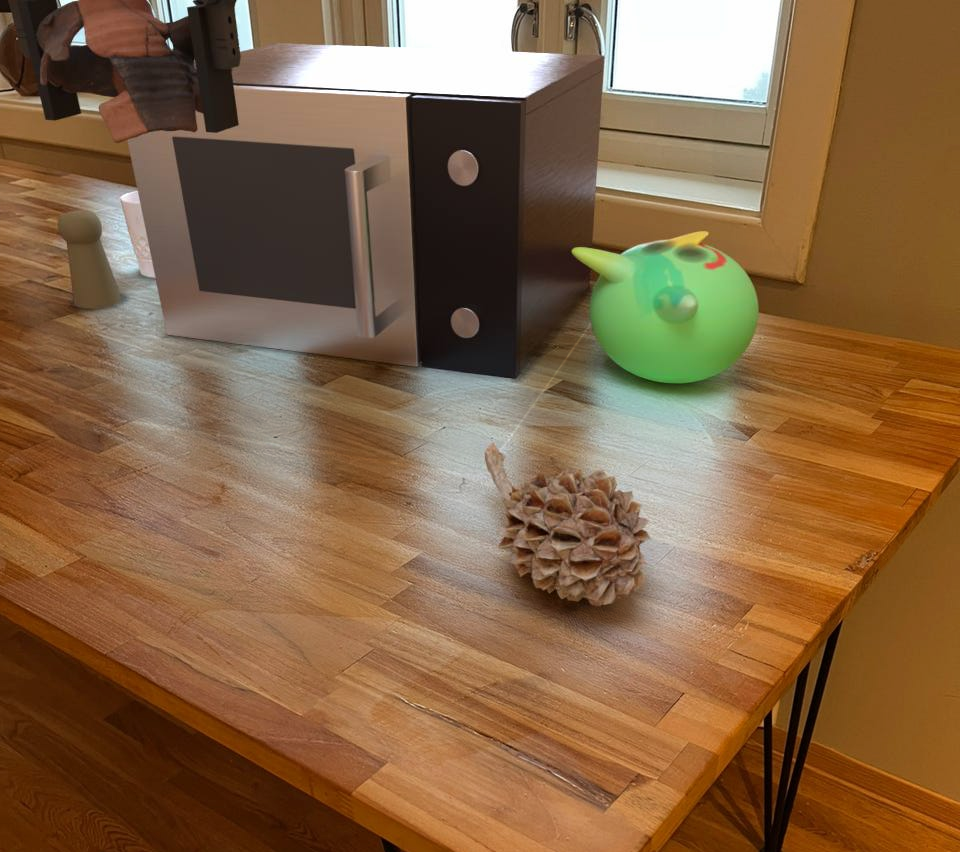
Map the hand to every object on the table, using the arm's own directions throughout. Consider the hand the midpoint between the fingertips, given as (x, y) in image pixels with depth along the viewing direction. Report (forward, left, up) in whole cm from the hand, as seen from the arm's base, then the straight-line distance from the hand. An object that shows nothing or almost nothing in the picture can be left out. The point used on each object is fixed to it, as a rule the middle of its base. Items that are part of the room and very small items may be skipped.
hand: (141, 122), depth 62 cm
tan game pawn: (-46, +46, -30) cm, 72 cm away
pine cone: (+27, +3, -30) cm, 41 cm away
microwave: (-8, +55, -30) cm, 63 cm away
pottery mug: (+1, 0, 0) cm, 1 cm away
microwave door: (-13, +35, -30) cm, 48 cm away
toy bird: (+29, +44, -30) cm, 61 cm away
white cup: (-45, +60, -30) cm, 81 cm away
